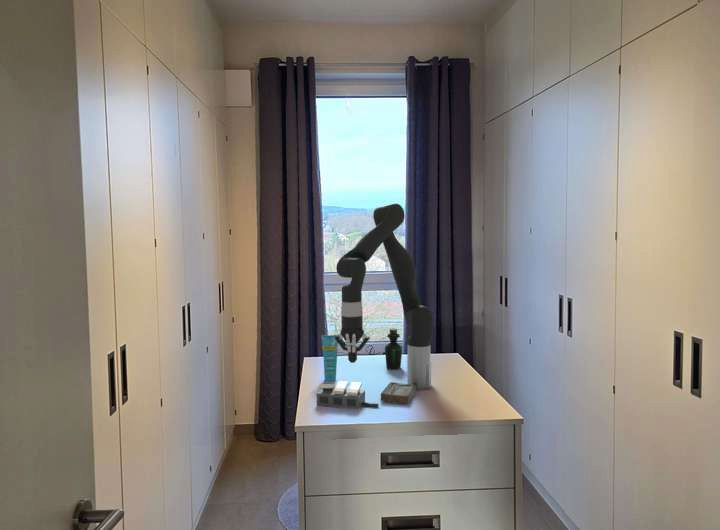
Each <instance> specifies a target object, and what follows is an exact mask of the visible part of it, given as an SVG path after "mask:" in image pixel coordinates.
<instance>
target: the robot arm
mask: <svg viewBox="0 0 720 530" xmlns="http://www.w3.org/2000/svg"><path fill="white" fill-rule="evenodd" d="M404 221H405V210H404V208H403V207H402V206H401V205H400V204H399V203H389V204H385V205H382V206H381V205H380V206H377V207H376V208H375V209H374V211H373V222H374V225H375V226H374V228H372V229H371V230H369V231H368V232H367V233H366V234H364V235H363V236H362V237H361V238H360V239H359V241H358V242H357V244H355V246H354V247H353V248H352V249H351V250H349V251H347V252H346V253H345V254H344V255H342V256H341V257H340V258H339V259H338V261H337V263H336V269H335V270H336V272H337V274H338V276H339V277H342V278H348V279H349V278H350V280H351V281H350V283H348V284H345V285H343V286H342V287H341V307H340V308H341V310H340V315H341V317H340V318H341V321H340V322H341V329H340V332H339V334H336V335H337V336H336V337H335V339H336V341H337V342H338V346H340V348H341V349H342V350H343V351H346V352H347V355H348V356H347V358H348V359H347V360H348V361H349V363H353V364H354V363H355V362H356V361H357V360H358V352H360V351H361V350H362V349H363V348H364V347H365V345H366V344H367V343H368V342H369V340H370V338H371V337H370V336H369V335H366V334H365V331H364V328H363V327H364V325H363V323H364V322H363V316H364V315H363V303H362V301H363V300H362V289H363V285H364V280H365V277H366V273H367V267H366V266H367V265H366V263H367V262H369V261H370V259H371V258H372V257H373V256H374V254H375V253H376V251H377V250H378V248H379V247H380V246H381V245H383V247H384V250H385V253H386V255H387V259H388V262H389V265H390V270H391V273H392V276H393V279H394V282H395V285H396V289H397V291H398V293H399V296H400V300H401V305H402V310H403V316H404V319H405V321H406V323H407V324H408V325H410V326H411V334H410V335H409V336H408V338H407V372H406V373H407V375H406V377H407V383H406V384H415V385H416V390H419V391H421V390H429V389H430V388H431V386H432V362H431V341H432V338H433V329H434V316H433V313H432V310H431V309H430V308H429V307H427V306H424V305H422V303H421V301H420V298H419V294H418V291H417V270H416V266H415V263H414V260H413V257H412V255H411V253H410V252H409V251H408V250H407V249H406V248H405V247H404V246H403V245H402V244H401V242H399V240H398V238H397V237H396V236H395V233H394V232H395V231H396V230H397V229H398V228H399V227H400V226H401V225H402V224H403V223H404ZM343 339H344V340H343ZM360 340H362V342H361V343H360V344H359V342H360ZM358 344H359V345H358Z"/></svg>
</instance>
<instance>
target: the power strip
mask: <svg viewBox="0 0 720 530" xmlns="http://www.w3.org/2000/svg"><path fill="white" fill-rule="evenodd" d="M334 389H335V388H321V389H320V390H319V391H317V392H316V406H317V407H318V406H321V407H330V408H339V409H340V408H341V409H353V410H360V409H361V408H362V407H370V408H371V407H372V408H379V405H380V404H379V403H373V402H366V390H365V389H360V390H359V392H358V394H357V396H352V395H347V391H348V389H349V388H346V390H345V391H344V393H343V394H333V391H334Z"/></svg>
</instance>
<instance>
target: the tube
mask: <svg viewBox="0 0 720 530" xmlns="http://www.w3.org/2000/svg"><path fill="white" fill-rule="evenodd" d="M337 335H338V334H332V335H326V334H325V335H320V338H321V345H322V354H323V355H322V356H323V373H324V374H323V375H324V376H323V377H324V381H328V382H333V381H336V380H337V364H338V363H337V361H338V351H339V350H338V348H339V347H338V346H339V343H338V342H337V341H336V339H335V337H336V336H337Z"/></svg>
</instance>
